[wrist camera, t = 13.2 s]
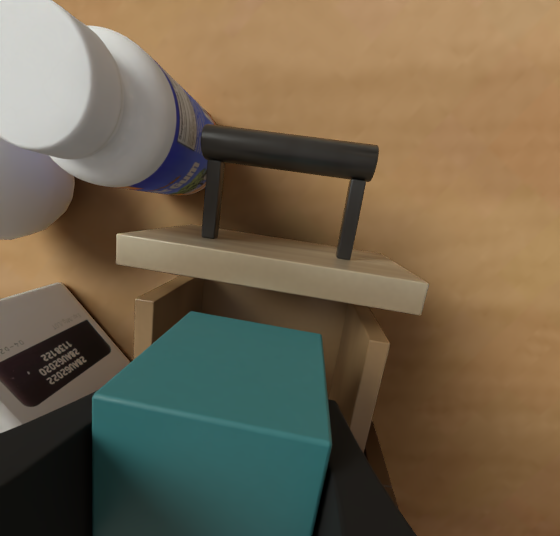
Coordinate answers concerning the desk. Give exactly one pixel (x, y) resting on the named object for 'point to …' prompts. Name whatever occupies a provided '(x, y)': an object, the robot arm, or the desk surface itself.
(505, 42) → the desk surface
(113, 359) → the container
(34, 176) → the white ball
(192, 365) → the block
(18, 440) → the robot arm
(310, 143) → the drawer
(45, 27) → the pill bottle
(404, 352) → the desk surface
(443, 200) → the desk surface
